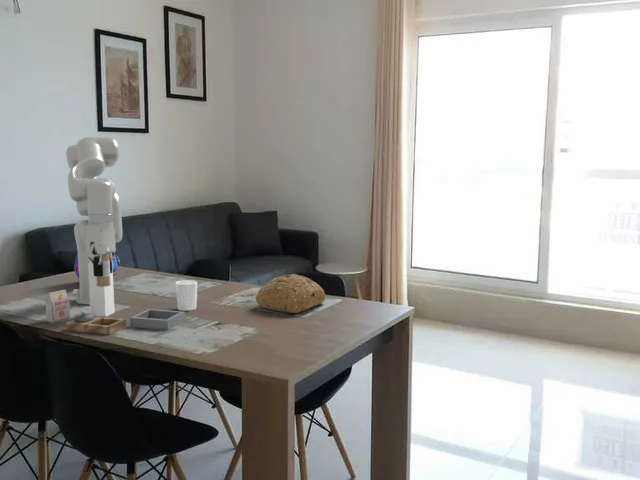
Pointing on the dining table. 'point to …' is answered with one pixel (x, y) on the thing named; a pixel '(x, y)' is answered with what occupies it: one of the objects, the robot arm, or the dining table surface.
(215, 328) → the dining table surface
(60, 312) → the white food bag
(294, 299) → the bread
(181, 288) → the white cup
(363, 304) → the dining table surface
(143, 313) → the tray
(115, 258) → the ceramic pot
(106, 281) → the sprinkles bottle
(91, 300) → the milk
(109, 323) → the holder
